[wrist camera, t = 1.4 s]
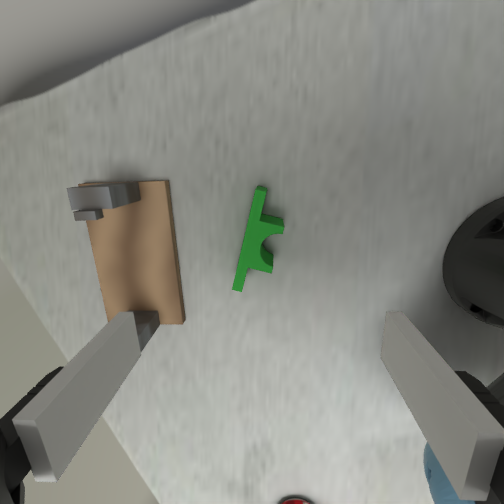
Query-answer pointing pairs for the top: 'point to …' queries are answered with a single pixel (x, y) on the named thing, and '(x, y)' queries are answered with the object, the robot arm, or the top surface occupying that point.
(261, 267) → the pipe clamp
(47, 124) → the top surface
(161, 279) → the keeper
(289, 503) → the soda can
